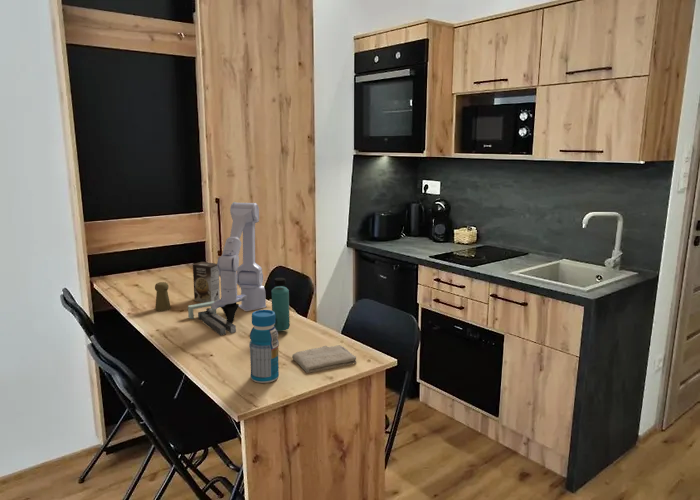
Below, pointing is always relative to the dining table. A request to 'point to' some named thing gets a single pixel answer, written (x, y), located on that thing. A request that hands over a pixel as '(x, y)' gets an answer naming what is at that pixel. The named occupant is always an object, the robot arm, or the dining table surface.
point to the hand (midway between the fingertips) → (230, 323)
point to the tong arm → (222, 321)
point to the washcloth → (323, 358)
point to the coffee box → (206, 282)
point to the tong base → (211, 323)
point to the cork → (162, 297)
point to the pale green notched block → (196, 306)
